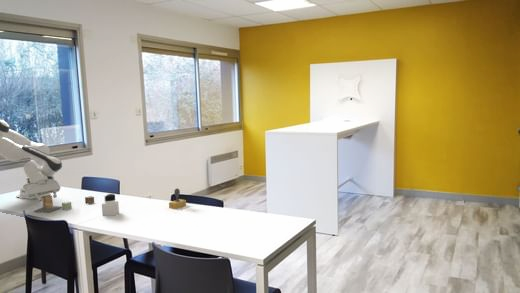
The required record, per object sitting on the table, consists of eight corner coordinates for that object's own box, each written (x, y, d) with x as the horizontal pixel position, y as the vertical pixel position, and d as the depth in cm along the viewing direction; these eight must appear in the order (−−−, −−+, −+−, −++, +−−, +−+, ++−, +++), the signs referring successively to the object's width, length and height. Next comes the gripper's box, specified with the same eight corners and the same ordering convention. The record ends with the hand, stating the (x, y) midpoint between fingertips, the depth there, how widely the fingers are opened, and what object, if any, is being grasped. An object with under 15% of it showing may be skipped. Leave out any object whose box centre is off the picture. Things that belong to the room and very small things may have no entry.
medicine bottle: (119, 212, 243) (117, 193, 242) (113, 215, 236) (112, 196, 235) (108, 212, 244) (106, 193, 242) (102, 215, 237) (100, 196, 235)
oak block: (43, 208, 251) (42, 196, 250) (49, 207, 254) (48, 195, 253) (46, 209, 249) (45, 197, 248) (53, 208, 252) (51, 195, 251)
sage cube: (62, 208, 254) (61, 202, 254) (68, 207, 258) (67, 201, 257) (65, 209, 252) (65, 203, 252) (71, 208, 255) (71, 202, 255)
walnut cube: (85, 203, 267) (84, 197, 267) (90, 201, 271) (90, 196, 270) (88, 204, 265) (88, 198, 265) (94, 202, 268) (93, 196, 268)
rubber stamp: (175, 209, 248) (174, 190, 246) (168, 208, 251) (167, 189, 249) (186, 205, 256) (185, 187, 255) (179, 204, 259) (179, 186, 258)
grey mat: (34, 212, 248) (34, 210, 247) (47, 207, 258) (47, 205, 258) (49, 212, 245) (49, 211, 245) (61, 207, 256) (61, 206, 256)
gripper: (23, 181, 245) (32, 199, 241) (56, 176, 262) (65, 192, 257) (20, 188, 248) (29, 205, 244) (53, 182, 265) (62, 198, 260)
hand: (48, 198), depth 251 cm, fingers open, 8 cm apart
